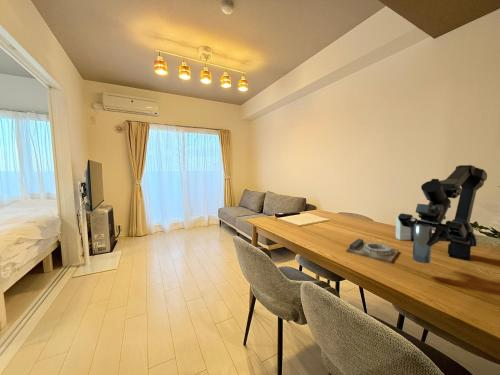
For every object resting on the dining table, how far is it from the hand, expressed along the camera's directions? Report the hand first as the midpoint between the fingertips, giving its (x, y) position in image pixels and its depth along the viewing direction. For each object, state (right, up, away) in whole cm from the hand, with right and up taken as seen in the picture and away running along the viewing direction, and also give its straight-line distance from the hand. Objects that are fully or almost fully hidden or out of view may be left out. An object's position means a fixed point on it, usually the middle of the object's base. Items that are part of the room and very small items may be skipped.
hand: (420, 243), depth 73 cm
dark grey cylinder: (+1, -7, +1) cm, 7 cm away
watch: (+43, -9, +39) cm, 58 cm away
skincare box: (+24, -9, +41) cm, 48 cm away
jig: (-3, -11, +24) cm, 26 cm away
